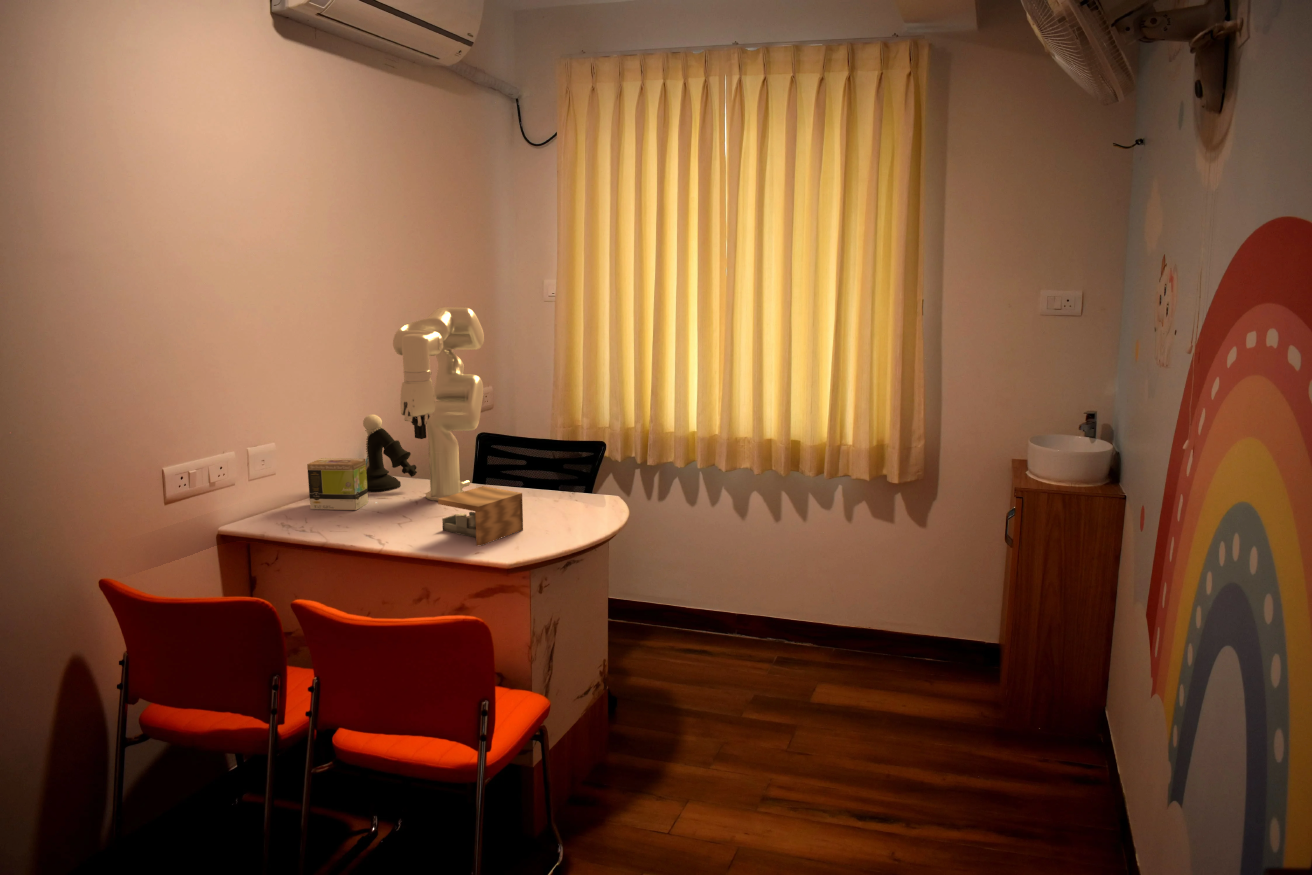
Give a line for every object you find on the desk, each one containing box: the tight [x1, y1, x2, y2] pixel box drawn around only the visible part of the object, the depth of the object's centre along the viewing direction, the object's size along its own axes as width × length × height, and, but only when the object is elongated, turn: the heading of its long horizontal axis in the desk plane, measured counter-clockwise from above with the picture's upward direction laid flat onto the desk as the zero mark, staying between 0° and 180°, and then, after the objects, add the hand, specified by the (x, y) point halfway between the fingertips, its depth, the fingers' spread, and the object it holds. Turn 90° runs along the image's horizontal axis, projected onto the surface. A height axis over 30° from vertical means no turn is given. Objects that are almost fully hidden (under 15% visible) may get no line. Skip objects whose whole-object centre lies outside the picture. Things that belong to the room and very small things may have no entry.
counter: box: [437, 485, 524, 546], centre depth 258 cm, size 18×15×11 cm
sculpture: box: [362, 414, 418, 493], centre depth 309 cm, size 15×24×25 cm, turn 68°
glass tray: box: [441, 511, 476, 538], centre depth 260 cm, size 6×15×5 cm, turn 57°
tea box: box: [306, 457, 369, 511], centre depth 286 cm, size 15×10×15 cm
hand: (420, 437), depth 270 cm, fingers closed
